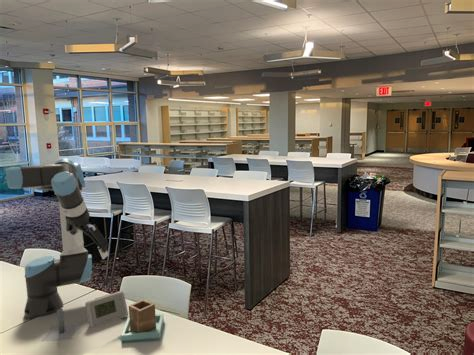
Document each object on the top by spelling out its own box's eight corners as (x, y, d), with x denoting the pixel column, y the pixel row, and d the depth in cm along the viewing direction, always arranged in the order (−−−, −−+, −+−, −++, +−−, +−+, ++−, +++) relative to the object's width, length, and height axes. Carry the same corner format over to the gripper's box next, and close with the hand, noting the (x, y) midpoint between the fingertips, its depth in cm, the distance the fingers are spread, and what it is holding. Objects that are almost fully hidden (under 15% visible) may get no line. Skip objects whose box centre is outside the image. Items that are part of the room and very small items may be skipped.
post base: (53, 329, 151) (50, 304, 149) (81, 327, 152) (79, 302, 150) (41, 344, 140) (38, 318, 138) (72, 342, 141) (69, 316, 139)
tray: (128, 323, 154) (128, 316, 153) (163, 321, 155) (163, 314, 155) (121, 343, 140) (120, 335, 140) (159, 340, 141) (159, 332, 141)
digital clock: (88, 331, 148) (86, 306, 147) (85, 321, 156) (83, 297, 155) (130, 320, 156) (128, 296, 154) (125, 311, 164) (124, 288, 162)
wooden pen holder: (130, 330, 147) (128, 305, 145) (145, 322, 152) (143, 299, 151) (141, 336, 142) (139, 311, 141) (156, 328, 148) (154, 304, 146)
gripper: (44, 206, 138) (63, 245, 151) (92, 229, 128) (109, 269, 141) (60, 194, 143) (78, 233, 156) (108, 215, 133) (123, 255, 146)
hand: (92, 250), depth 149 cm, fingers open, 13 cm apart
